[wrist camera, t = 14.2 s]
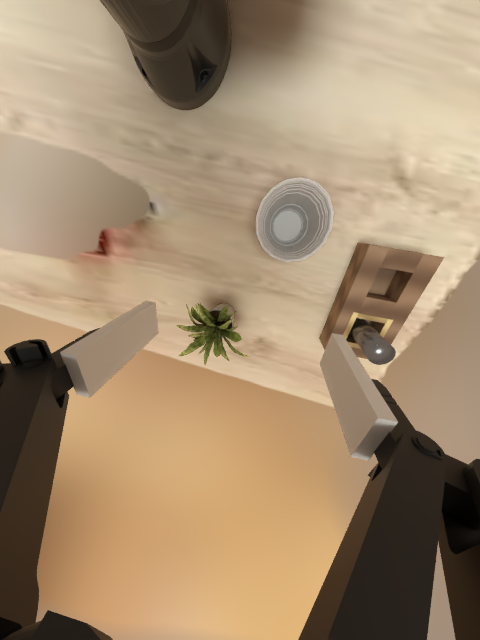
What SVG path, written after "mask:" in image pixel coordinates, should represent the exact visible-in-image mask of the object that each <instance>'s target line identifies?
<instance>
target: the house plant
mask: <svg viewBox="0 0 480 640" xmlns="http://www.w3.org/2000/svg"><path fill="white" fill-rule="evenodd" d="M186 306H187V305H186ZM196 308H197V311H198V313H199V315H198V313H197V312H196V311H195V310H194V309H193V307H192V309H191V313H190V311H189V309H188V307H187V309H188V312H189V316H190V318H191V320H192V322H193V323H194V324H195V325H196V326H194V325H193V326H182V325H177V326H178V327H179V328H181V329H183V330H185V331H190V332H202V331H205V332H202V333H197V334H191V335H189V336H190V337H192V336H195V337H193V338H195V339H194V342H193V343H191V344H190V345H189V346H188V348H187V349H186V350H185V351H183V352H182V353H181V354H180V355H179V356H183V355H187V354H189V353H191V352H193V351H194V350H196V349H197V348H199V347H201V346H202V345H204V344H205V342H206V341H207V342H206V344H205V346H204V347H203V349H202V350H201V351H200V353H201V352H203V351H204V350H205V354H204V362H205V364H206V362H207V358H208V356H209V352H210V349H211V347H212V344H213V342H214V354H215V356H216V357H218V356H219V355H220V353H221V354H222V356H223V357H224V358H225V359H227V360H228V361H229V359H228V357H227V355H226V351H225V349H224V347H223V343H222V337H223V338H224V339H225V341H226V342H227V344H228V345H229V347H230V348H231V349H232V351H234V352H235V353H236V354H239V355H242V356H245V357H249V356H247V355H244V354H242V353H240V352H239V351H237V350H236V349H235V348H234V347H233V346H232V345H231V344H230V342H229V341H228V340H227V339H226V337H227V338H229V339H231V340H232V341H234V342H237V341H240V340H241V336H240V335H239V334H238V333H236V332H233V330H234V329H235V328H237V326H236V327H234V314H235V312H236V311H235V312H234V310H233V308H232V307H231V306H230V305H228V304H219V305H217V306H216V307H214V308H213V309H211V310H210V311H208V310H207V309H206V308H204V307H203V306H202V305H201V304H200V305H199V304H198V306H197V305H196ZM191 314H192V316H193V318H195V319H196V320H197V321H198V322H200V323H202V324H197V323H195V322H194V320H193V318H192V316H191ZM233 327H234V328H233ZM214 339H215V340H214Z"/></svg>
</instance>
